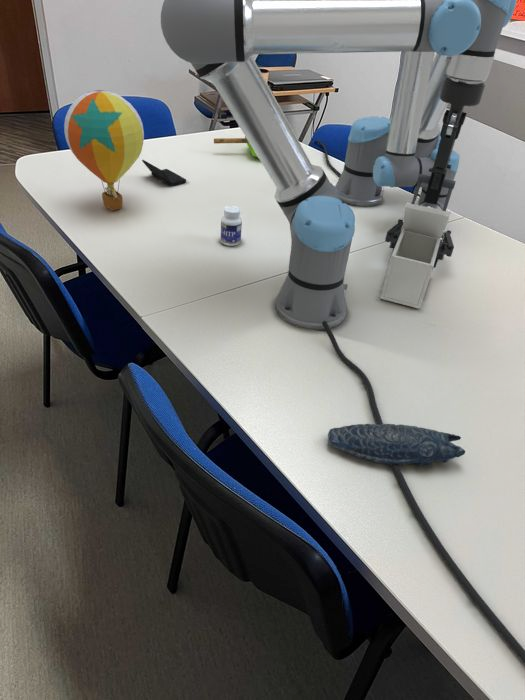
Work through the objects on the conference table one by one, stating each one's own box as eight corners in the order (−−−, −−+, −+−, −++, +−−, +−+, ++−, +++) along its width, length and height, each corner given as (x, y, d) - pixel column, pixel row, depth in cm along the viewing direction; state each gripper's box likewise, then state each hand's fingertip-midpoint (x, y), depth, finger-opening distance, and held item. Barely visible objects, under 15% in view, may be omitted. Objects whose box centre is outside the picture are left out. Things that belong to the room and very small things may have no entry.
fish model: (463, 478, 79) (473, 457, 76) (326, 461, 80) (331, 439, 77) (455, 446, 85) (464, 424, 82) (326, 429, 86) (331, 408, 83)
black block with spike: (190, 175, 164) (173, 153, 156) (179, 193, 163) (161, 172, 155) (166, 170, 170) (147, 148, 162) (155, 188, 169) (136, 167, 161)
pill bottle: (217, 243, 133) (217, 210, 128) (225, 235, 137) (226, 203, 132) (236, 248, 132) (237, 215, 127) (243, 239, 136) (245, 207, 131)
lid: (449, 216, 105) (461, 177, 105) (404, 207, 107) (416, 168, 107) (440, 238, 121) (451, 203, 121) (402, 229, 123) (412, 195, 123)
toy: (64, 203, 145) (44, 85, 127) (127, 189, 156) (117, 79, 137) (97, 229, 134) (80, 105, 116) (162, 213, 145) (156, 96, 126)
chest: (419, 309, 116) (433, 266, 109) (379, 298, 118) (391, 255, 111) (427, 278, 128) (440, 238, 121) (391, 269, 130) (402, 229, 123)
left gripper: (449, 70, 103) (419, 186, 118) (439, 83, 92) (407, 209, 107) (488, 76, 101) (452, 193, 116) (483, 89, 90) (444, 217, 105)
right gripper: (463, 243, 138) (456, 282, 122) (383, 225, 144) (365, 260, 127) (472, 217, 134) (466, 254, 117) (389, 199, 139) (372, 232, 122)
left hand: (431, 200), depth 111 cm, fingers closed on lid, 2 cm apart
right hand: (414, 257), depth 122 cm, fingers closed on chest, 9 cm apart
